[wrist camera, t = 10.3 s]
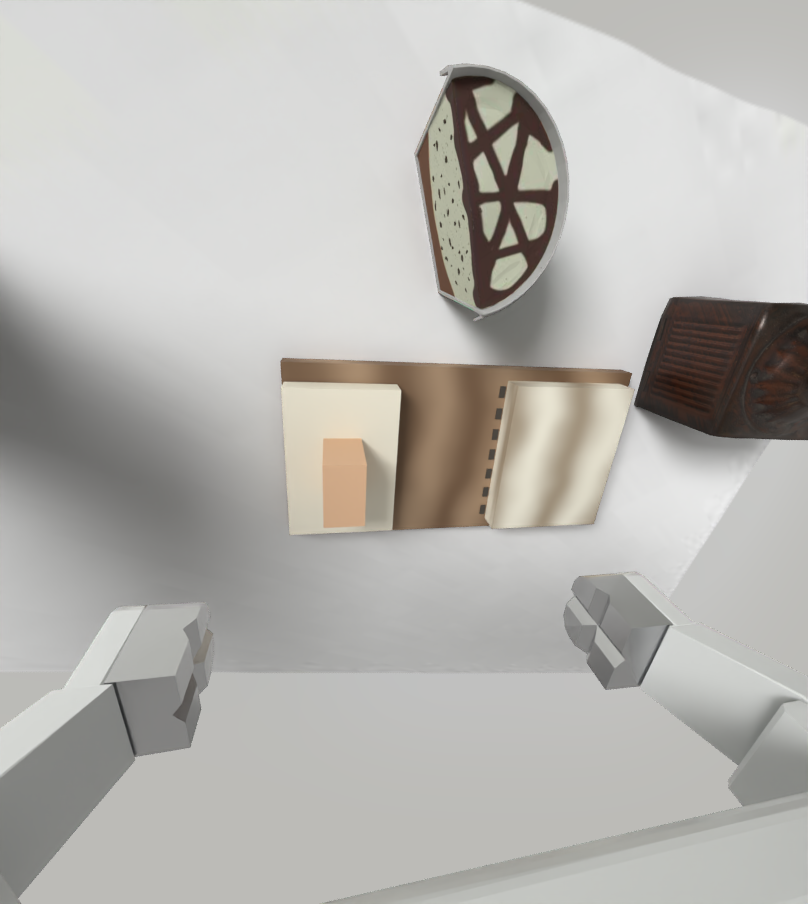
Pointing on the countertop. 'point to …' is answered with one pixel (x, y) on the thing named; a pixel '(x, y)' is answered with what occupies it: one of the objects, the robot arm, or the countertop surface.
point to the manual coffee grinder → (730, 368)
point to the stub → (340, 455)
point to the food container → (491, 187)
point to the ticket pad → (493, 439)
